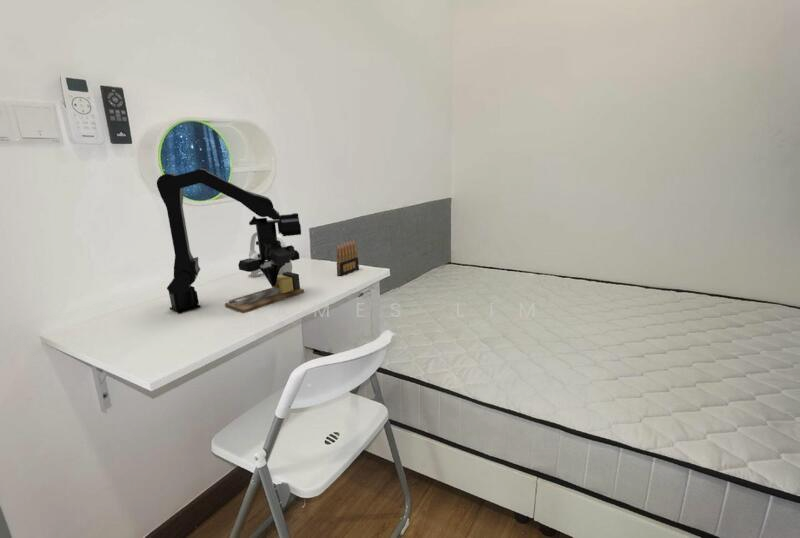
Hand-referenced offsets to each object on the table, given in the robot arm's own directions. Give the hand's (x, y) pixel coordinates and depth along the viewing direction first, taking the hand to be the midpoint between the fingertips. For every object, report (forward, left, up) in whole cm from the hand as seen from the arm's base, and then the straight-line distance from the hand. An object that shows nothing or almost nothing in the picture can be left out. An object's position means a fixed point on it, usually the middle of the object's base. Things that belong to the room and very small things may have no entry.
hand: (273, 285), depth 132 cm
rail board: (-3, 0, -4) cm, 5 cm away
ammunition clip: (+33, 0, -4) cm, 33 cm away
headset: (+12, +19, -4) cm, 23 cm away
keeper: (+3, 0, -2) cm, 4 cm away
